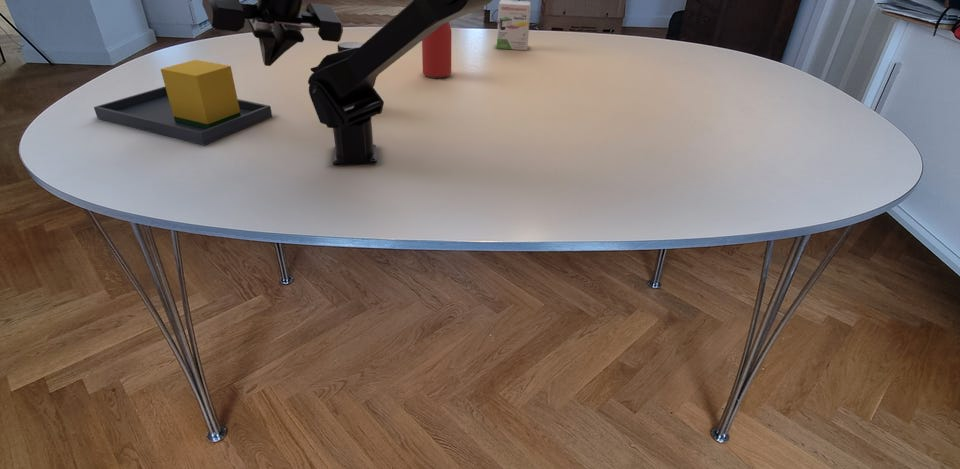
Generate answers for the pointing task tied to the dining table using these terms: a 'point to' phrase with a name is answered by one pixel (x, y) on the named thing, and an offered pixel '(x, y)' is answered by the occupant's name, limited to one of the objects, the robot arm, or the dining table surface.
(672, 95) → the dining table surface
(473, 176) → the dining table surface
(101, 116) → the tray
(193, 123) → the sponge
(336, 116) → the robot arm
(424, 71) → the beer can
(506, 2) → the ink box
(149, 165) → the dining table surface
